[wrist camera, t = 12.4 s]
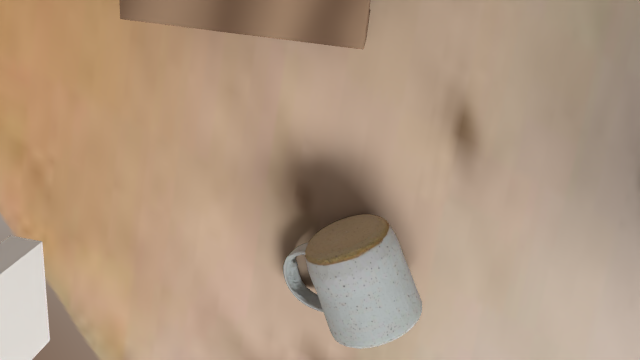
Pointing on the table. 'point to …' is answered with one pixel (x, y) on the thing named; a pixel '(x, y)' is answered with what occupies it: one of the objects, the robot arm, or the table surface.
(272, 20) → the walnut stand
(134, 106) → the table surface
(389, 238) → the ceramic mug
